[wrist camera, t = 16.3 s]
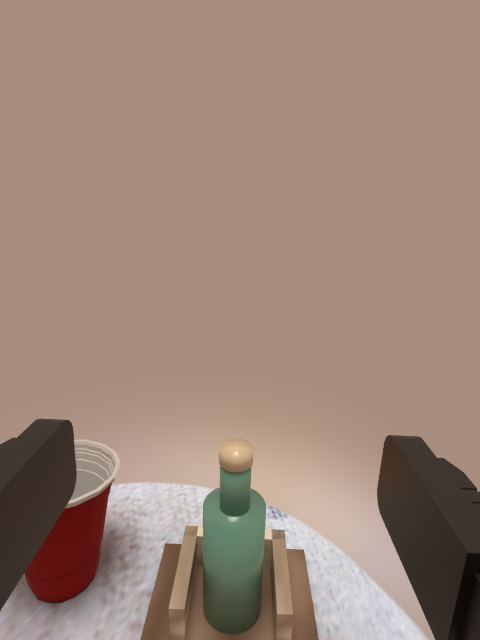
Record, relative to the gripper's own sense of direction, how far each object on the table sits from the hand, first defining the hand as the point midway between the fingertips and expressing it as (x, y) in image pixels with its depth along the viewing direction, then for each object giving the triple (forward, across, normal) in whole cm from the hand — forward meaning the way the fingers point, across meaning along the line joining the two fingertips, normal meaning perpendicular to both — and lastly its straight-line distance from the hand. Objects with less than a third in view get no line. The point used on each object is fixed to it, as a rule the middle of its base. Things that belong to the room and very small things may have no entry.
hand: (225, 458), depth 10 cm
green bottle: (+17, 0, +26) cm, 31 cm away
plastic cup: (+21, +16, +28) cm, 38 cm away
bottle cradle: (+17, 0, +28) cm, 33 cm away
